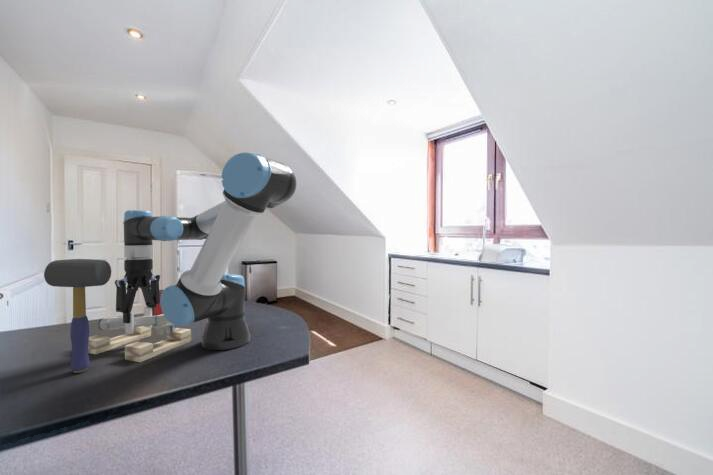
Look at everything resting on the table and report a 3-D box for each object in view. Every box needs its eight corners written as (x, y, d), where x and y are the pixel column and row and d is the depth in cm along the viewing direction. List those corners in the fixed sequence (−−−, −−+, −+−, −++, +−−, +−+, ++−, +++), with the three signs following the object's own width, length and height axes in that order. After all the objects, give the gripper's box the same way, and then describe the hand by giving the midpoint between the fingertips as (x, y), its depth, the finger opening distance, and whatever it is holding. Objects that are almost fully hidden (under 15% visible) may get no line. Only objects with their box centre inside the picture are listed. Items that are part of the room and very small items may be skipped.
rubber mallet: (42, 379, 79) (40, 260, 78) (65, 366, 86) (64, 257, 85) (96, 376, 80) (95, 260, 80) (114, 364, 88) (113, 257, 87)
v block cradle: (191, 341, 106) (191, 329, 106) (140, 362, 89) (140, 348, 89) (138, 333, 113) (138, 322, 113) (82, 351, 96) (82, 339, 96)
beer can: (169, 319, 132) (169, 291, 131) (150, 322, 128) (150, 292, 128) (168, 315, 137) (168, 288, 137) (150, 318, 133) (150, 290, 133)
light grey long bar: (109, 315, 105) (177, 308, 102) (112, 335, 105) (180, 328, 102) (94, 320, 100) (166, 312, 97) (97, 340, 100) (169, 333, 97)
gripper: (156, 255, 110) (156, 320, 111) (99, 260, 93) (100, 337, 93) (172, 256, 108) (172, 323, 109) (117, 261, 91) (118, 340, 91)
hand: (139, 329), depth 101 cm, fingers closed on light grey long bar, 5 cm apart
